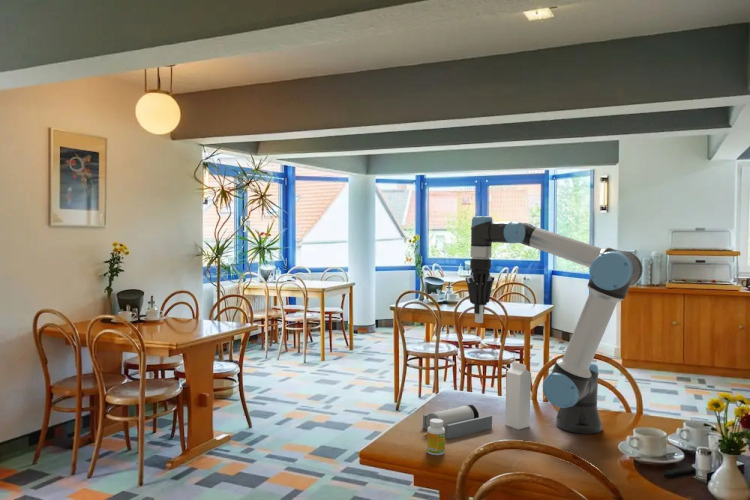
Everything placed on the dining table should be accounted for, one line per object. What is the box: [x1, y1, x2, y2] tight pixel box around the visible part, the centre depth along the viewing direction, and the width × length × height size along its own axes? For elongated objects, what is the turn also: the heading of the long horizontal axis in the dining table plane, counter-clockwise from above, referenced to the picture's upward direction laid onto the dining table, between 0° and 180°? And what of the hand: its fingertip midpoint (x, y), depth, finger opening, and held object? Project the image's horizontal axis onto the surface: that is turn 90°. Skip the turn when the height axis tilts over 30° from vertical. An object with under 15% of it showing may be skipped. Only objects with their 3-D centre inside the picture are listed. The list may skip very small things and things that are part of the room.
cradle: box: [422, 413, 493, 440], centre depth 197 cm, size 13×20×4 cm, turn 125°
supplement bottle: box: [426, 419, 446, 456], centre depth 174 cm, size 5×5×10 cm
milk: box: [504, 361, 532, 430], centre depth 201 cm, size 6×6×22 cm
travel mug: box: [426, 404, 480, 430], centre depth 196 cm, size 6×7×20 cm
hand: (478, 322), depth 211 cm, fingers closed
